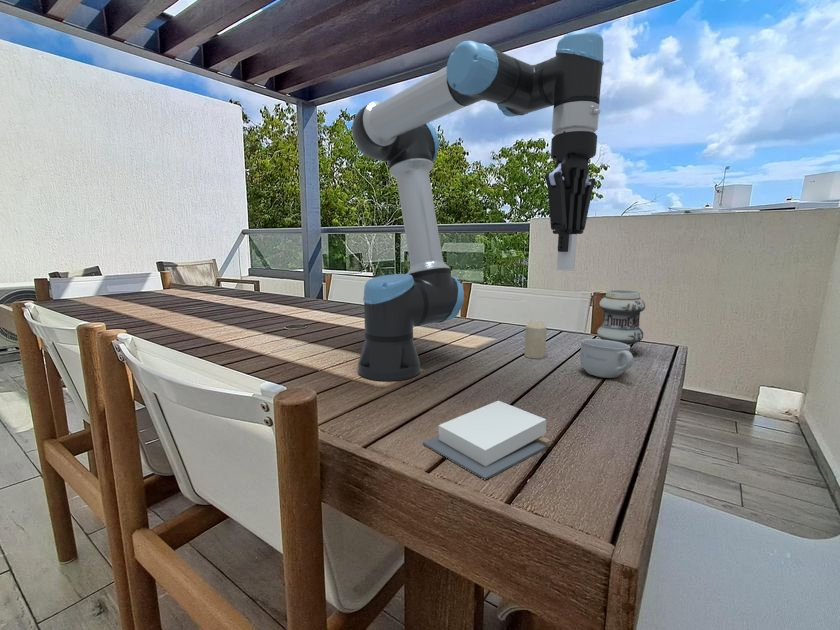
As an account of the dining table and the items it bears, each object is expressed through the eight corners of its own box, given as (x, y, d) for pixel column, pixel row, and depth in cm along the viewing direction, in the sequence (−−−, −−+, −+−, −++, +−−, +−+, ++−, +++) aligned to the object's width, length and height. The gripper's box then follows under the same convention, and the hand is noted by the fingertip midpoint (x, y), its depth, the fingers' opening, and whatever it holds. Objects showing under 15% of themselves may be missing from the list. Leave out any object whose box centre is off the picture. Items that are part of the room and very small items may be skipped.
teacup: (571, 368, 106) (573, 337, 105) (612, 367, 107) (614, 336, 105) (599, 387, 92) (601, 351, 91) (645, 385, 93) (649, 351, 92)
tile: (498, 400, 74) (438, 425, 66) (546, 419, 66) (485, 450, 58) (498, 414, 75) (438, 440, 66) (545, 434, 67) (485, 467, 58)
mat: (486, 419, 75) (486, 417, 75) (549, 446, 65) (549, 444, 65) (422, 444, 66) (422, 442, 66) (485, 480, 56) (485, 478, 56)
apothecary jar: (601, 345, 129) (605, 287, 126) (644, 351, 123) (650, 290, 119) (591, 353, 120) (595, 291, 117) (637, 360, 113) (644, 294, 110)
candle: (545, 354, 118) (547, 320, 116) (544, 359, 113) (546, 323, 111) (525, 353, 120) (527, 318, 118) (523, 357, 115) (525, 322, 113)
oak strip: (487, 419, 75) (487, 413, 75) (550, 446, 65) (550, 440, 65) (482, 420, 74) (482, 415, 74) (545, 448, 65) (546, 442, 64)
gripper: (573, 123, 66) (564, 273, 70) (613, 136, 74) (602, 270, 78) (533, 132, 71) (526, 270, 76) (574, 143, 80) (566, 267, 84)
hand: (565, 270), depth 77 cm, fingers closed
